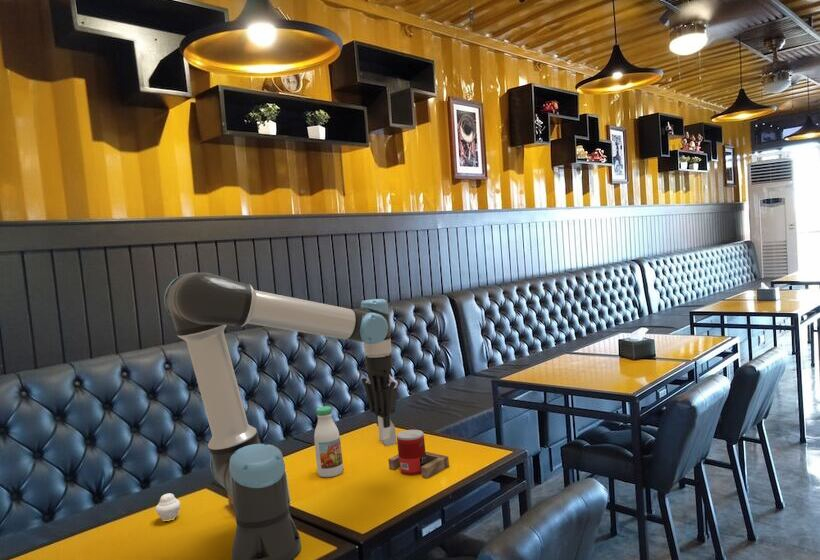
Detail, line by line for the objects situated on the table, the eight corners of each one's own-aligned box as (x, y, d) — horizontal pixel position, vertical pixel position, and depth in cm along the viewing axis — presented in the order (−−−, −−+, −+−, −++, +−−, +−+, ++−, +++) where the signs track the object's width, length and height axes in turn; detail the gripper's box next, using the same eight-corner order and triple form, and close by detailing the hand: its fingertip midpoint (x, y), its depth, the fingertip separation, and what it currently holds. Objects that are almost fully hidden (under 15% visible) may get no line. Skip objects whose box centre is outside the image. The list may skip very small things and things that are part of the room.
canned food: (427, 474, 169) (423, 436, 169) (400, 476, 169) (396, 439, 169) (426, 464, 177) (423, 428, 176) (400, 466, 177) (396, 430, 176)
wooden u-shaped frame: (427, 478, 166) (426, 468, 166) (389, 468, 176) (388, 459, 176) (449, 466, 173) (448, 456, 173) (411, 457, 184) (410, 448, 183)
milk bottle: (313, 477, 175) (306, 411, 174) (325, 467, 182) (318, 404, 181) (336, 478, 173) (329, 411, 171) (347, 468, 180) (341, 404, 179)
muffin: (177, 511, 160) (173, 486, 160) (185, 518, 156) (182, 492, 155) (153, 520, 156) (150, 494, 156) (162, 527, 152) (158, 500, 151)
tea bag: (389, 438, 204) (386, 410, 203) (396, 444, 198) (393, 415, 197) (379, 441, 203) (376, 412, 202) (386, 446, 196) (383, 417, 196)
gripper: (404, 353, 162) (410, 438, 163) (371, 351, 171) (377, 431, 172) (385, 358, 157) (392, 445, 158) (352, 355, 166) (358, 438, 167)
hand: (384, 438), depth 165 cm, fingers closed
